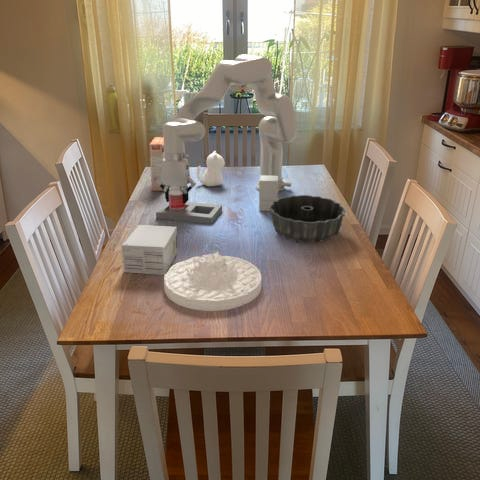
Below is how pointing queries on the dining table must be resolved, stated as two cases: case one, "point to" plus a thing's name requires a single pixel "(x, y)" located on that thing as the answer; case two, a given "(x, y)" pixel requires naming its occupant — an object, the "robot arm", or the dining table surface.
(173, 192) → the pill bottle
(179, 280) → the cake
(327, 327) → the dining table surface
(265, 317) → the dining table surface
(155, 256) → the supplement box
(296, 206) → the bundt pan
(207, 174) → the cat figurine
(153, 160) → the cracker box
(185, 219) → the rail
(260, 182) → the supplement box
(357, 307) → the dining table surface
